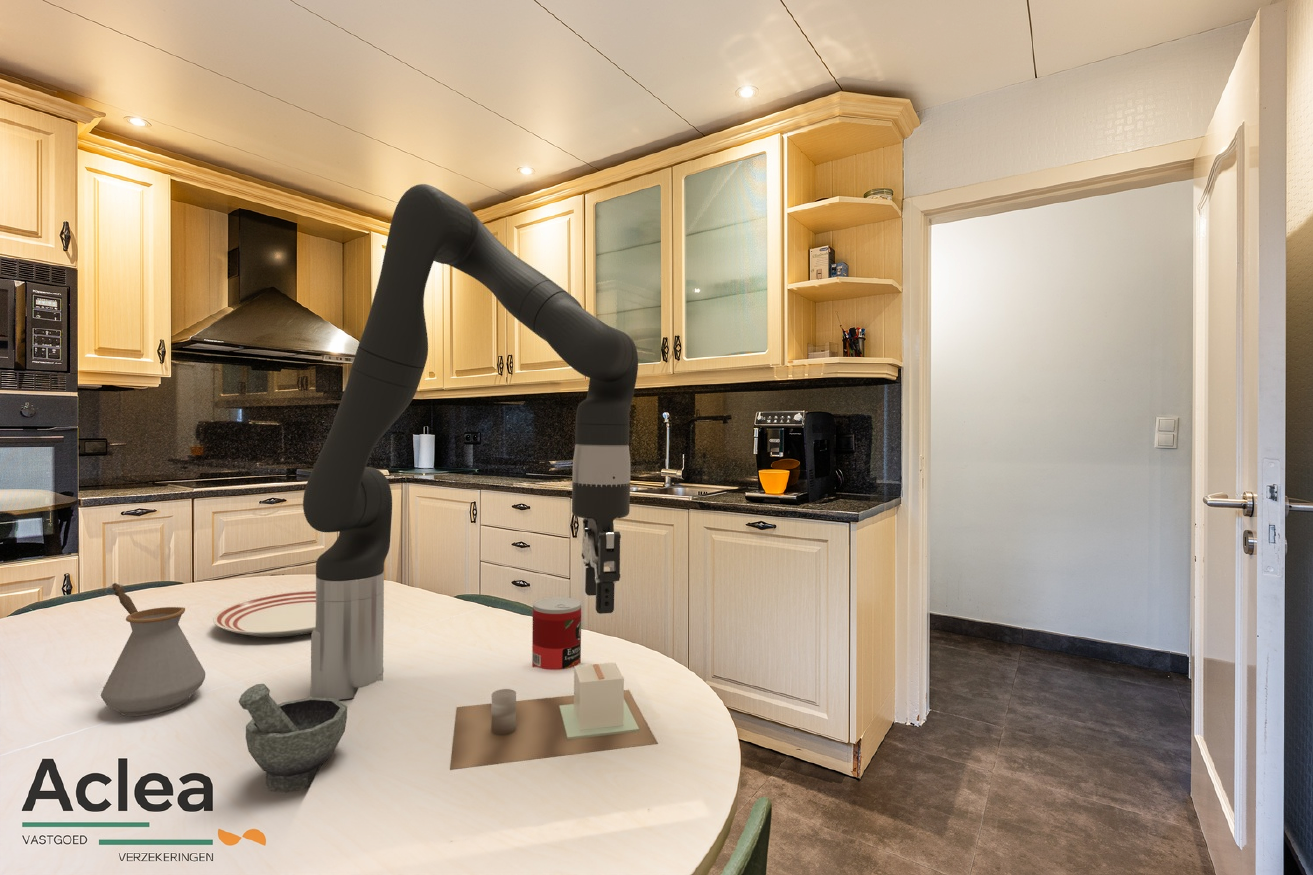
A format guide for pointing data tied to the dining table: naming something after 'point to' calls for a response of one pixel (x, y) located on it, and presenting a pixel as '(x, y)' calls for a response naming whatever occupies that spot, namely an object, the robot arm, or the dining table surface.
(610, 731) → the mat
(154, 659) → the coffee pot
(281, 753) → the mortar and pestle
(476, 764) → the post board
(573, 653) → the canned food
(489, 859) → the dining table surface
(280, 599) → the dinner plate
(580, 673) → the cream drawer box
